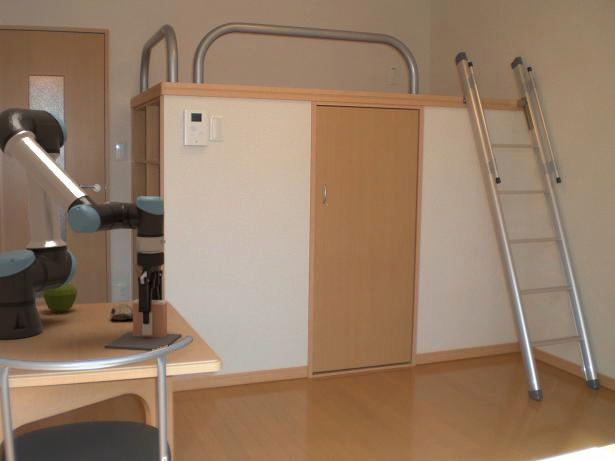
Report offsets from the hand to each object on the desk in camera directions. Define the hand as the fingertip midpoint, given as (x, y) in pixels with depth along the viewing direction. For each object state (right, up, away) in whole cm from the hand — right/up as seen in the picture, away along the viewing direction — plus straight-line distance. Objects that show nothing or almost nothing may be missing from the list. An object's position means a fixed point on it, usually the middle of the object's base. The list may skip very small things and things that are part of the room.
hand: (151, 332), depth 198 cm
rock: (-13, 0, +23) cm, 26 cm away
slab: (0, -1, 0) cm, 1 cm away
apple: (-37, +2, +31) cm, 49 cm away
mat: (-1, -2, -5) cm, 5 cm away
